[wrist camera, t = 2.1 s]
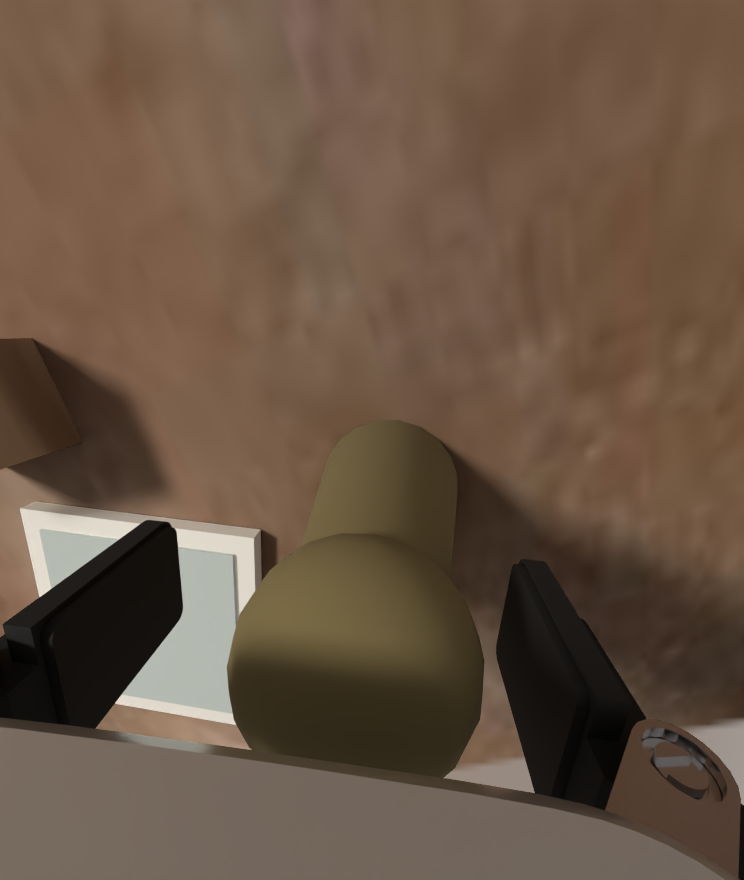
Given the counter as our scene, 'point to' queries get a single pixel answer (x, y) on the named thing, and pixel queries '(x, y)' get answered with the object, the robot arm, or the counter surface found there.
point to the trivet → (203, 592)
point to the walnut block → (30, 406)
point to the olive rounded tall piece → (365, 618)
